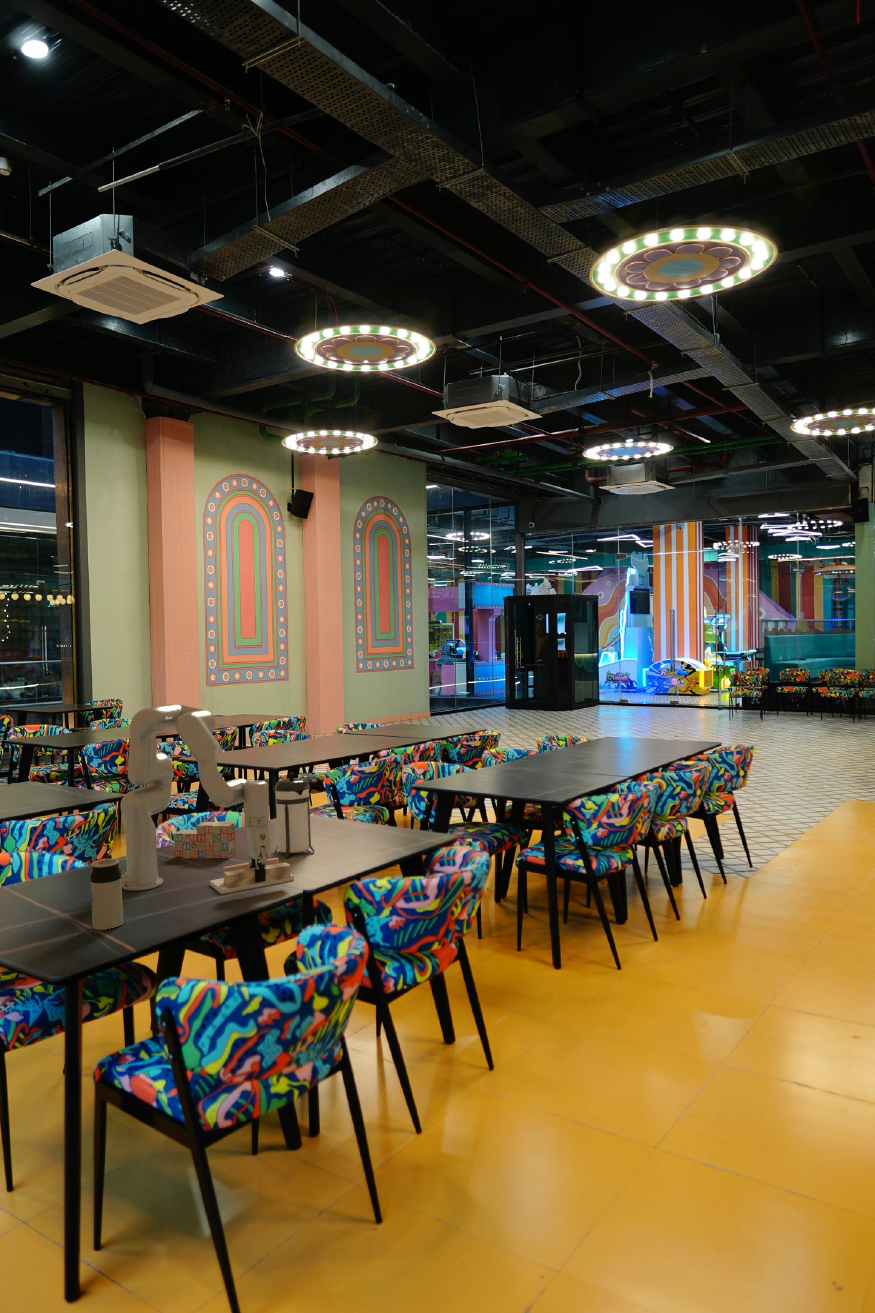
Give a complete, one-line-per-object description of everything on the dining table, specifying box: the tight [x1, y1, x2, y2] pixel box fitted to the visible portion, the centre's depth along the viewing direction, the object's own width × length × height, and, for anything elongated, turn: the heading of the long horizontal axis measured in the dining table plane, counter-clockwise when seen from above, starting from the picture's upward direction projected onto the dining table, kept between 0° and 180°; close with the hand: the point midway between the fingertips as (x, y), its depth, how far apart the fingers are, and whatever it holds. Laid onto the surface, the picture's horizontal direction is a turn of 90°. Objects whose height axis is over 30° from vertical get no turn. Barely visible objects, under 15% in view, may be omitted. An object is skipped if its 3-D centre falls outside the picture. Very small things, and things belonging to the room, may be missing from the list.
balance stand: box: [209, 857, 295, 895], centre depth 270 cm, size 24×12×6 cm, turn 122°
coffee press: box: [273, 772, 315, 859], centre depth 307 cm, size 17×16×30 cm
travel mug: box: [89, 858, 124, 931], centre depth 233 cm, size 8×8×18 cm
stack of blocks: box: [173, 821, 237, 859], centre depth 307 cm, size 21×6×12 cm, turn 80°
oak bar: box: [223, 862, 292, 889], centre depth 258 cm, size 20×4×4 cm, turn 122°
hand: (257, 879), depth 258 cm, fingers closed on oak bar, 4 cm apart
